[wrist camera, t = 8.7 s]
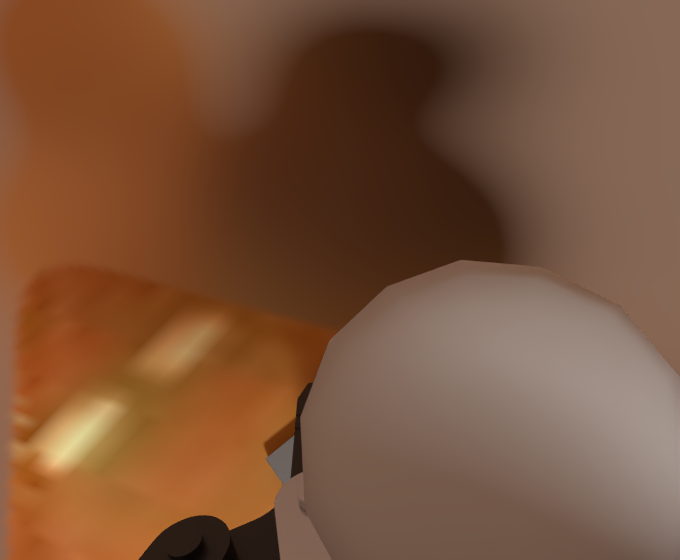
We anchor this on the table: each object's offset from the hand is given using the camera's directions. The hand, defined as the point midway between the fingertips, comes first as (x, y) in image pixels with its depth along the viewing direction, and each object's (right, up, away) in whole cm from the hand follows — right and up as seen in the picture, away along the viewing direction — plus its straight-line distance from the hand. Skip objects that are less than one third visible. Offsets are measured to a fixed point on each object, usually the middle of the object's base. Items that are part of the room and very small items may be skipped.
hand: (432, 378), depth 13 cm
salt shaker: (+1, -4, +5) cm, 6 cm away
